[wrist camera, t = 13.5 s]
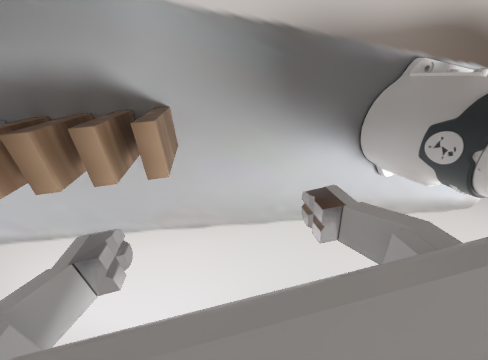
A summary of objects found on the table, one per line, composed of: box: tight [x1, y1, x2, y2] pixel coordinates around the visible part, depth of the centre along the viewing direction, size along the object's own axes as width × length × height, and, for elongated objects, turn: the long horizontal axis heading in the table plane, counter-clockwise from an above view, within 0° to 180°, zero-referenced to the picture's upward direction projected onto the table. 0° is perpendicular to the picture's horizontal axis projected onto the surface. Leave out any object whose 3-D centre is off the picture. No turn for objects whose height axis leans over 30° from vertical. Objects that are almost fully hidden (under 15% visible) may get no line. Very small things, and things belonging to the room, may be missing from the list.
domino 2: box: [0, 113, 94, 195], centre depth 20 cm, size 2×5×10 cm, turn 3°
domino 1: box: [0, 117, 51, 199], centre depth 19 cm, size 2×5×10 cm, turn 4°
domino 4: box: [130, 107, 178, 180], centre depth 21 cm, size 2×5×10 cm, turn 4°
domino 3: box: [68, 110, 140, 187], centre depth 20 cm, size 2×5×10 cm, turn 4°
